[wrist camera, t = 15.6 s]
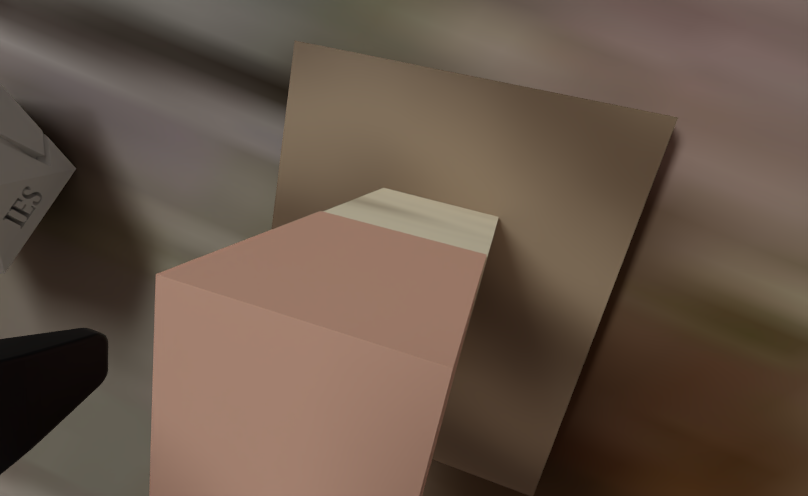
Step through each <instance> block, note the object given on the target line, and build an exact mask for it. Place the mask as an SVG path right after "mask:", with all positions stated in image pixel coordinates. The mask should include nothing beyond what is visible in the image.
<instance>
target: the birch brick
mask: <svg viewBox="0 0 808 496" xmlns="http://www.w3.org/2000/svg"><path fill="white" fill-rule="evenodd" d="M323 212H327V213H330V214H334V215H338V216H342V217H346V218H349V219H353V220H357V221H361V222H365V223H368V224H372V225H376V226H380V227H384V228H388V229H391V230H395V231H399V232H403V233H407V234H410V235H414V236H418V237H422V238H426V239H429V240H433V241H437V242H441V243H445V244H449V245H452V246H456V247H460V248H464V249H468V250H471V251H475V252H479V253H483V254H487V255H486V259H485V263H484V266H483V270H482V274H481V278H480V281H479V285H478V289H477V293H478V290H479V286H480V283H481V279H482V275H483V272H484V268H485V265H486V261H487V257H488V254H489V250H490V247H491V243H492V239H493V236H494V232H495V229H496V225H497V221H498V218H499V217H497V216H493V215H489V214H485V213H481V212H477V211H473V210H469V209H465V208H461V207H458V206H454V205H450V204H446V203H442V202H438V201H434V200H430V199H426V198H422V197H418V196H414V195H410V194H406V193H402V192H398V191H395V190H391V189H387V188H382V189H379V190H377V191H374V192H371V193H369V194H366V195H364V196H361V197H359V198H356V199H354V200H351V201H349V202H346V203H343V204H341V205H338V206H336V207H333V208H331V209H328V210H326V211H323ZM477 293H476V296H475V300H476V297H477ZM475 300H474V304H475ZM474 304H473V308H474ZM473 308H472V311H473ZM472 311H471V315H472ZM471 315H470V318H471ZM469 322H470V319H469ZM468 326H469V323H468ZM468 326H467V329H468ZM466 333H467V330H466ZM465 336H466V334H465ZM464 340H465V338H464ZM463 344H464V341H463ZM462 347H463V345H462ZM461 351H462V349H461ZM460 354H461V353H460ZM459 358H460V356H459ZM458 362H459V360H458ZM457 365H458V364H457ZM456 369H457V368H456ZM455 372H456V371H455ZM454 376H455V375H454ZM453 380H454V379H453ZM451 387H452V386H451Z"/></svg>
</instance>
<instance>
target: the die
mask: <svg viewBox="0 0 808 496" xmlns="http://www.w3.org/2000/svg"><path fill="white" fill-rule="evenodd" d="M75 170H76V168H75V167H74V166H73V164H72V163H71V162H70V161H69V160H68V159H67V158H66V157H65V155H64V154H63V153H62V152H61V151H60V150H59V149H58V148H57V147H56V145H55V144H54V143H53V142H52V141H51V140H50V139H49V138H48V137H47V136H46V135H45V134H44V133H43V131H42V130H41V129H40V128H39V126H38V125H37V124H36V123H35V122H34V121H33V120H32V119H31V117H30V116H29V115H28V114H27V113H26V112H25V111H24V110H23V109H22V107H21V106H20V105H19V104H18V103H17V102H16V101H15V100H14V98H13V97H12V96H11V95H10V94H9V93H8V92H7V91H6V90H5V88H4V87H3V86H2V85H1V84H0V273H5V272H6V271H7V269H8V268H9V266H10V265H11V263H12V262H13V261H14V259H15V258H16V256H17V255H18V253H19V252H20V250H21V249H22V247H23V246H24V244H25V243H26V242H27V240H28V239H29V237H30V236H31V234H32V233H33V231H34V230H35V228H36V227H37V225H38V224H39V223H40V221H41V220H42V218H43V217H44V215H45V214H46V212H47V211H48V209H49V208H50V206H51V205H52V203H53V202H54V201H55V199H56V198H57V196H58V195H59V193H60V192H61V190H62V189H63V187H64V186H65V184H66V183H67V182H68V180H69V179H70V177H71V176H72V174H73V173H74V171H75Z"/></svg>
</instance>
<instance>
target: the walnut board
mask: <svg viewBox="0 0 808 496" xmlns="http://www.w3.org/2000/svg"><path fill="white" fill-rule="evenodd" d="M677 119H678V117H673V116H668V115H663V114H658V113H653V112H648V111H643V110H638V109H633V108H628V107H623V106H618V105H613V104H608V103H603V102H598V101H593V100H588V99H583V98H578V97H573V96H568V95H563V94H558V93H553V92H548V91H543V90H538V89H533V88H528V87H523V86H518V85H513V84H508V83H503V82H498V81H493V80H488V79H483V78H479V77H474V76H469V75H464V74H459V73H454V72H449V71H444V70H439V69H434V68H429V67H424V66H419V65H414V64H409V63H404V62H399V61H394V60H389V59H384V58H379V57H374V56H369V55H364V54H359V53H354V52H349V51H344V50H339V49H334V48H329V47H324V46H319V45H314V44H309V43H304V42H299V41H295V43H294V51H293V59H292V68H291V76H290V84H289V92H288V100H287V108H286V116H285V125H284V133H283V141H282V149H281V157H280V165H279V173H278V182H277V190H276V198H275V206H274V214H273V222H272V229H275V228H277V227H280V226H282V225H285V224H288V223H290V222H293V221H295V220H298V219H301V218H303V217H306V216H308V215H311V214H314V213H316V212H319V211H326V210H328V209H331V208H333V207H336V206H338V205H341V204H343V203H346V202H349V201H351V200H354V199H356V198H359V197H361V196H364V195H366V194H369V193H371V192H374V191H377V190H379V189H382V188H387V189H391V190H395V191H398V192H402V193H406V194H410V195H414V196H418V197H422V198H426V199H430V200H434V201H438V202H442V203H446V204H450V205H454V206H458V207H461V208H465V209H469V210H473V211H477V212H481V213H485V214H489V215H493V216H497V217H499V218H498V221H497V225H496V229H495V232H494V236H493V239H492V243H491V247H490V250H489V254H488V257H487V261H486V265H485V268H484V272H483V275H482V279H481V283H480V286H479V290H478V293H477V297H476V300H475V304H474V308H473V311H472V315H471V318H470V322H469V326H468V329H467V333H466V336H465V340H464V344H463V347H462V351H461V354H460V358H459V362H458V365H457V369H456V372H455V376H454V380H453V383H452V387H451V390H450V394H449V398H448V401H447V405H446V409H445V413H444V416H443V420H442V424H441V428H440V431H439V435H438V439H437V443H436V446H435V450H434V454H433V458H432V460H435V461H437V462H440V463H443V464H445V465H448V466H451V467H453V468H456V469H459V470H461V471H464V472H467V473H470V474H472V475H475V476H478V477H480V478H483V479H486V480H488V481H491V482H494V483H496V484H499V485H502V486H505V487H507V488H510V489H513V490H515V491H518V492H521V493H523V494H526V495H529V496H533V495H534V492H535V490H536V487H537V485H538V482H539V479H540V477H541V474H542V472H543V469H544V466H545V464H546V461H547V458H548V456H549V453H550V451H551V448H552V445H553V443H554V440H555V438H556V435H557V432H558V430H559V427H560V425H561V422H562V419H563V417H564V414H565V411H566V409H567V406H568V404H569V401H570V398H571V396H572V393H573V391H574V388H575V385H576V383H577V380H578V377H579V375H580V372H581V370H582V367H583V364H584V362H585V359H586V357H587V354H588V351H589V349H590V346H591V343H592V341H593V338H594V336H595V333H596V330H597V328H598V325H599V323H600V320H601V317H602V315H603V312H604V309H605V307H606V304H607V302H608V299H609V296H610V294H611V291H612V289H613V286H614V283H615V281H616V278H617V276H618V273H619V270H620V268H621V265H622V262H623V260H624V257H625V255H626V252H627V249H628V247H629V244H630V242H631V239H632V236H633V234H634V231H635V228H636V226H637V223H638V221H639V218H640V215H641V213H642V210H643V208H644V205H645V202H646V200H647V197H648V194H649V192H650V189H651V187H652V184H653V181H654V179H655V176H656V174H657V171H658V168H659V166H660V163H661V161H662V158H663V155H664V153H665V150H666V147H667V145H668V142H669V140H670V137H671V134H672V132H673V129H674V127H675V124H676V121H677Z"/></svg>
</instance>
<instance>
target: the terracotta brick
mask: <svg viewBox="0 0 808 496" xmlns="http://www.w3.org/2000/svg"><path fill="white" fill-rule="evenodd" d="M486 255H487V254H483V253H479V252H475V251H471V250H468V249H464V248H460V247H456V246H452V245H449V244H445V243H441V242H437V241H433V240H429V239H426V238H422V237H418V236H414V235H410V234H407V233H403V232H399V231H395V230H391V229H388V228H384V227H380V226H376V225H372V224H368V223H365V222H361V221H357V220H353V219H349V218H346V217H342V216H338V215H334V214H330V213H327V212H323V211H319V212H316V213H314V214H311V215H308V216H306V217H303V218H301V219H298V220H295V221H293V222H290V223H288V224H285V225H282V226H280V227H277V228H275V229H272V230H269V231H267V232H264V233H262V234H259V235H256V236H254V237H251V238H249V239H246V240H243V241H241V242H238V243H236V244H233V245H230V246H228V247H225V248H223V249H220V250H217V251H215V252H212V253H210V254H207V255H204V256H202V257H199V258H197V259H194V260H191V261H189V262H186V263H184V264H181V265H178V266H176V267H173V268H171V269H168V270H165V271H163V272H160V273H158V274H156V287H155V321H154V355H153V389H152V423H151V457H150V491H149V496H422V494H423V490H424V487H425V483H426V480H427V476H428V472H429V469H430V465H431V461H432V458H433V454H434V450H435V446H436V443H437V439H438V435H439V431H440V428H441V424H442V420H443V416H444V413H445V409H446V405H447V401H448V398H449V394H450V390H451V386H452V383H453V379H454V375H455V371H456V368H457V364H458V360H459V356H460V353H461V349H462V345H463V341H464V338H465V334H466V330H467V326H468V323H469V319H470V315H471V311H472V308H473V304H474V300H475V296H476V293H477V289H478V285H479V281H480V278H481V274H482V270H483V266H484V263H485V259H486Z"/></svg>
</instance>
